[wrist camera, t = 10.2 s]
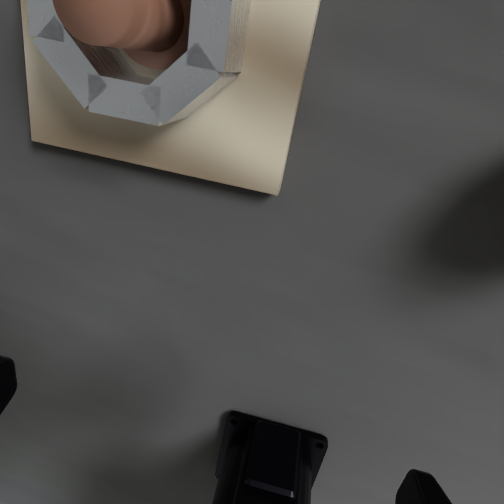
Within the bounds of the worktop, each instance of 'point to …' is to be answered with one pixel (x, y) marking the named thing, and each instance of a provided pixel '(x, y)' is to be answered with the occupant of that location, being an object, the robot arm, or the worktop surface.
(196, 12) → the ring
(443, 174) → the worktop surface
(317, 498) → the worktop surface
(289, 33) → the post stand
